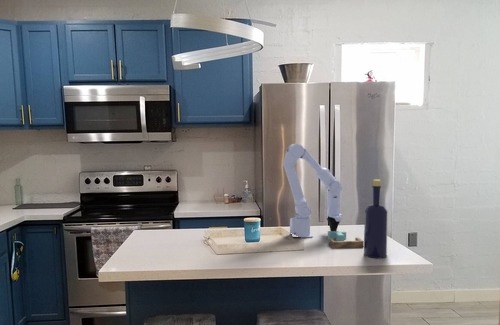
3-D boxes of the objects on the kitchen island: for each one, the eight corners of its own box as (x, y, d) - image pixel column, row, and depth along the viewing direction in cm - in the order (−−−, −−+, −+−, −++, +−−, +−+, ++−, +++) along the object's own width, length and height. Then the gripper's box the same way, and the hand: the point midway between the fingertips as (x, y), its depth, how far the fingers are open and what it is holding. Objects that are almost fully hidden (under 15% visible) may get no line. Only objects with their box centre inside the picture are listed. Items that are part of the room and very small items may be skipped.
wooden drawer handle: (333, 247, 157) (333, 242, 156) (328, 243, 163) (328, 238, 163) (363, 247, 158) (363, 241, 158) (357, 243, 164) (358, 237, 164)
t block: (332, 241, 166) (332, 235, 166) (327, 237, 173) (327, 231, 173) (350, 241, 167) (350, 234, 167) (344, 237, 174) (344, 230, 174)
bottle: (384, 251, 151) (385, 178, 149) (390, 258, 142) (392, 181, 140) (361, 251, 152) (362, 178, 150) (365, 258, 143) (367, 181, 141)
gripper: (347, 207, 170) (346, 236, 171) (336, 202, 184) (336, 229, 185) (332, 207, 169) (331, 237, 170) (323, 202, 184) (322, 229, 185)
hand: (333, 233), depth 178 cm, fingers closed
